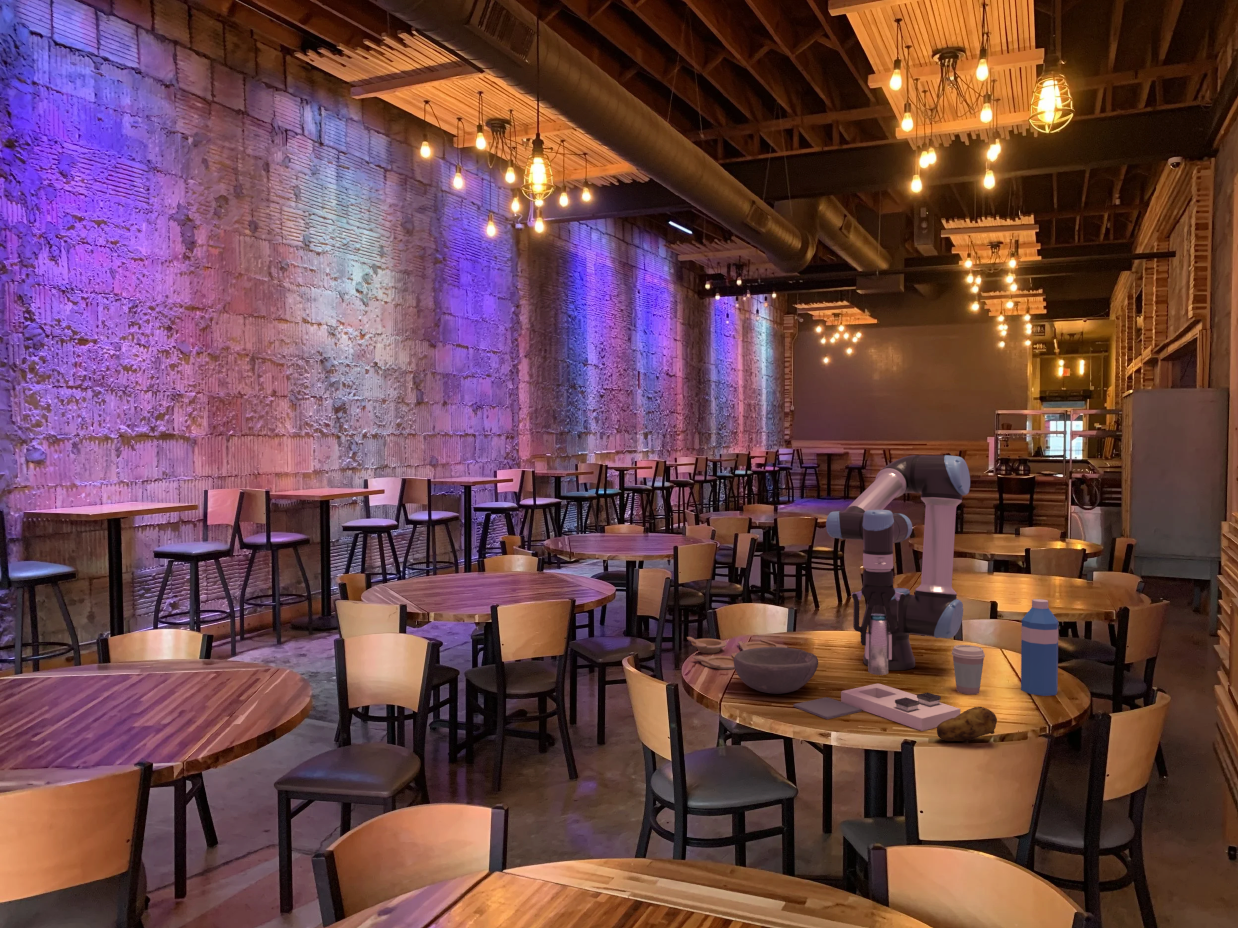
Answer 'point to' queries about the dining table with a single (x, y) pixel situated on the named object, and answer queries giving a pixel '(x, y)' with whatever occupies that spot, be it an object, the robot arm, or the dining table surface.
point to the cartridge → (878, 644)
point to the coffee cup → (968, 668)
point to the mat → (827, 708)
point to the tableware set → (716, 645)
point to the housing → (883, 704)
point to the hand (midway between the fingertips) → (878, 657)
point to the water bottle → (1039, 650)
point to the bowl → (775, 668)
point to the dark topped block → (928, 699)
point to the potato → (968, 725)
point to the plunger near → (907, 704)
